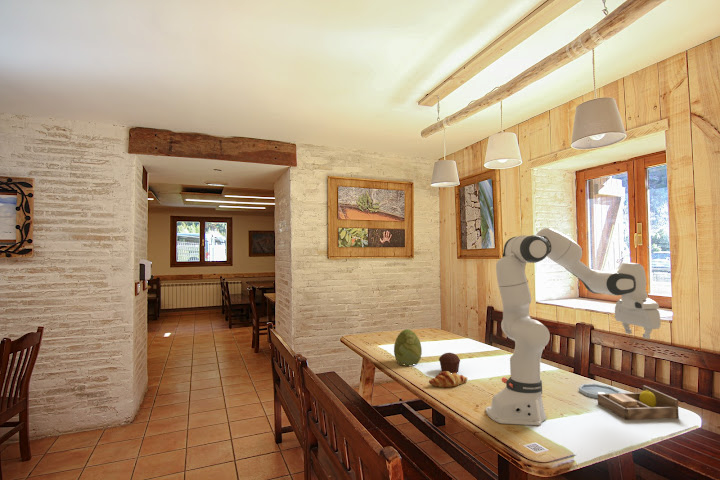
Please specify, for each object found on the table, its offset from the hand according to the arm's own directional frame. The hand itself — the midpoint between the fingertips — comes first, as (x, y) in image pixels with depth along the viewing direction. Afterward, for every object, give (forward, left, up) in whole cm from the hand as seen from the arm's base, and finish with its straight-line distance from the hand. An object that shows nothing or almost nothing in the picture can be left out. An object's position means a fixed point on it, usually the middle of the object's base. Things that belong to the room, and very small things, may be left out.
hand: (637, 335), depth 154 cm
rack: (-2, 0, -30) cm, 30 cm away
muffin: (-63, +56, -30) cm, 89 cm away
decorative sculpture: (-83, +74, -30) cm, 115 cm away
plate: (-4, +19, -30) cm, 36 cm away
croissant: (-69, +36, -31) cm, 83 cm away
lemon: (+3, 0, -30) cm, 30 cm away
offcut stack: (-7, 0, -30) cm, 31 cm away
